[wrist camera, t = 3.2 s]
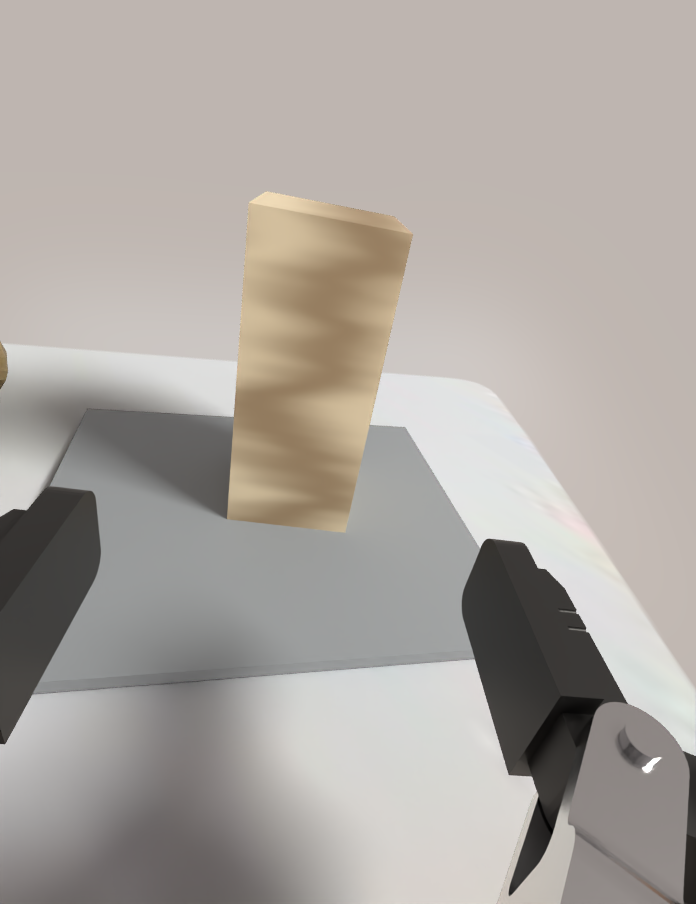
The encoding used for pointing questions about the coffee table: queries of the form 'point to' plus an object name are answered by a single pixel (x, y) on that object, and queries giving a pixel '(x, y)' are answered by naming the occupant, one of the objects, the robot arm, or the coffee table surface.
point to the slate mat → (253, 564)
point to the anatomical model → (3, 365)
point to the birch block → (310, 356)
